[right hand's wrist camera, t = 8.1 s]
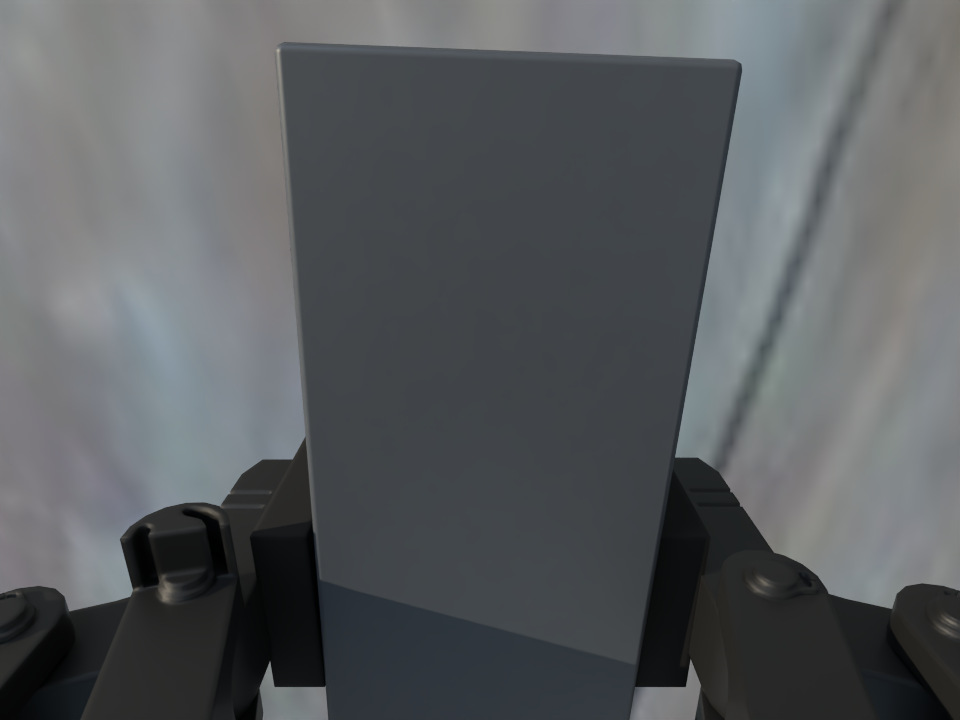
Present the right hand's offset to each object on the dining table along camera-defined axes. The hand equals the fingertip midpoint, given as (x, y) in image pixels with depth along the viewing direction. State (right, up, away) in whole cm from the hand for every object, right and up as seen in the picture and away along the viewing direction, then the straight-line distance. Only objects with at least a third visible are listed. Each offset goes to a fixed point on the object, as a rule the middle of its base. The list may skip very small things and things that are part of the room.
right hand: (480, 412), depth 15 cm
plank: (-1, -18, +8) cm, 20 cm away
